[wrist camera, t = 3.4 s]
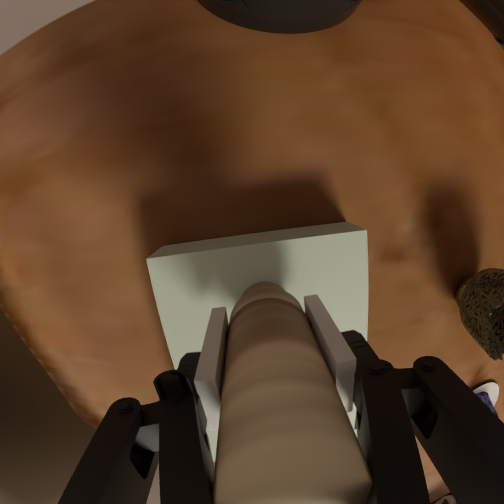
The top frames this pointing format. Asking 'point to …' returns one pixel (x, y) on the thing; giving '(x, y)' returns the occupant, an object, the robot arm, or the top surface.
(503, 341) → the cup
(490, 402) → the pudding
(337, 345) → the robot arm
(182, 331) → the board
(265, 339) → the peg
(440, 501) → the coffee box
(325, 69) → the top surface
